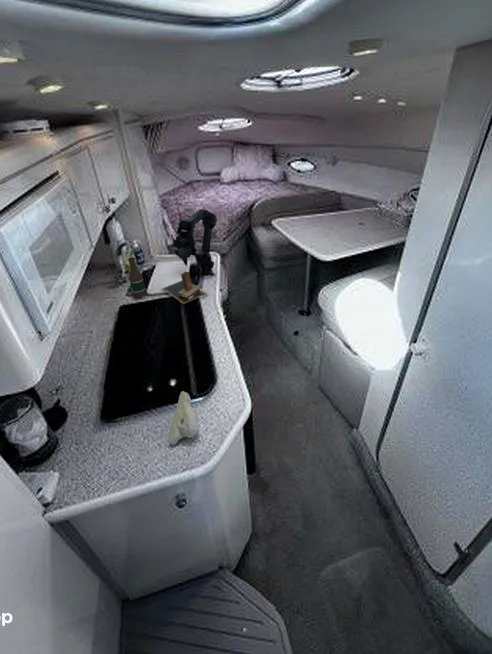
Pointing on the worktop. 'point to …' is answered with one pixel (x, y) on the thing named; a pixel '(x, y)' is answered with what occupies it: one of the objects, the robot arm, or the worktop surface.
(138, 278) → the beer bottle
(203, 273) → the robot arm
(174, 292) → the chalkboard
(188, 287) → the eraser
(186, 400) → the cream lumpy piece
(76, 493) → the worktop surface
